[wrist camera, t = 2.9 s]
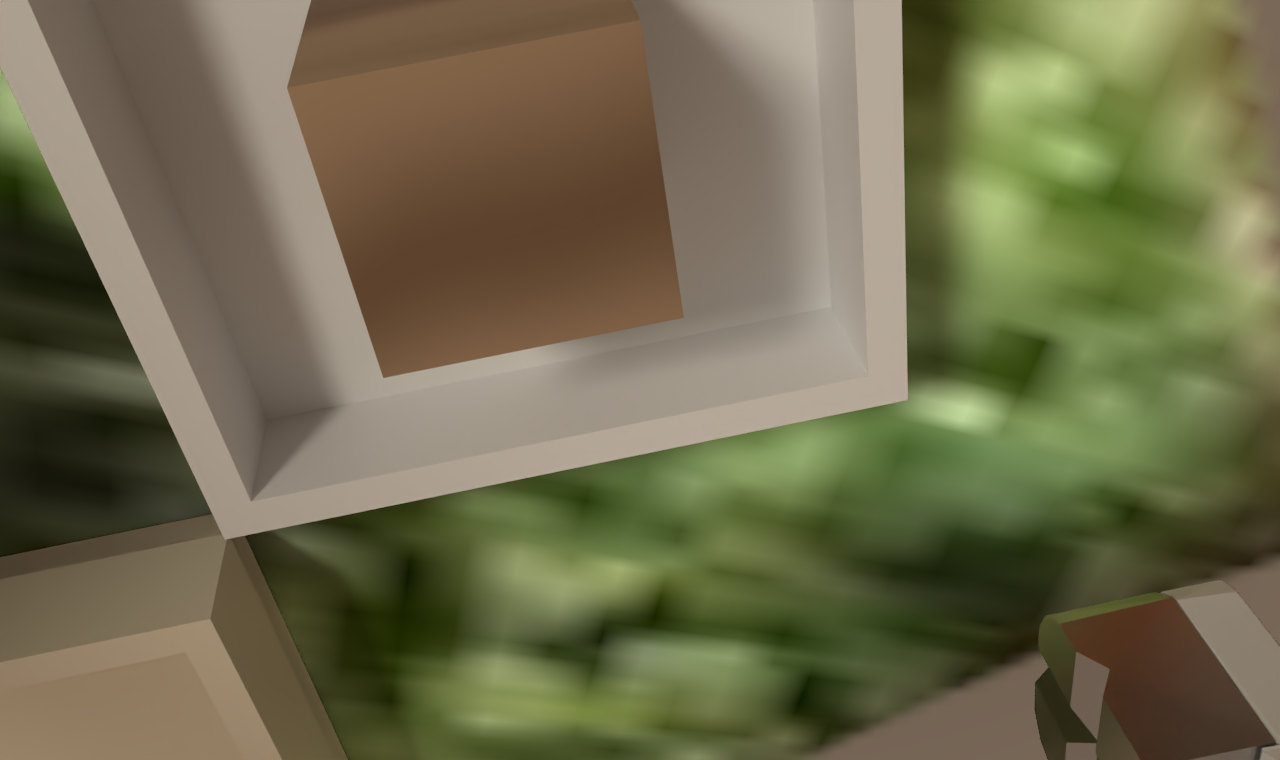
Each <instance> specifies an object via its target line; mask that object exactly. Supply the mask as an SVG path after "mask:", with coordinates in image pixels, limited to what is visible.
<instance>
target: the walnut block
mask: <svg viewBox="0 0 1280 760" xmlns="http://www.w3.org/2000/svg"><path fill="white" fill-rule="evenodd" d="M287 90H288V93H289V96H290V99H291V102H292V105H293V108H294V111H295V114H296V117H297V120H298V123H299V126H300V129H301V132H302V135H303V138H304V141H305V144H306V147H307V150H308V153H309V156H310V159H311V162H312V165H313V168H314V171H315V174H316V177H317V180H318V183H319V186H320V189H321V192H322V195H323V198H324V201H325V204H326V207H327V210H328V213H329V216H330V219H331V222H332V225H333V228H334V231H335V234H336V237H337V240H338V243H339V246H340V249H341V252H342V255H343V258H344V261H345V264H346V267H347V270H348V273H349V276H350V279H351V282H352V285H353V288H354V291H355V294H356V297H357V300H358V303H359V306H360V309H361V312H362V315H363V318H364V321H365V324H366V327H367V330H368V333H369V336H370V339H371V342H372V345H373V348H374V351H375V354H376V357H377V360H378V364H379V367H380V370H381V373H382V376H383V378H386V377H391V376H396V375H401V374H406V373H411V372H416V371H421V370H426V369H431V368H436V367H441V366H446V365H451V364H456V363H461V362H466V361H471V360H476V359H481V358H486V357H491V356H496V355H501V354H506V353H511V352H516V351H521V350H526V349H531V348H536V347H541V346H546V345H551V344H556V343H561V342H566V341H570V340H575V339H580V338H585V337H590V336H595V335H600V334H605V333H610V332H615V331H620V330H625V329H630V328H635V327H640V326H645V325H650V324H655V323H660V322H665V321H670V320H675V319H680V318H684V316H683V309H682V302H681V296H680V289H679V282H678V275H677V268H676V261H675V254H674V247H673V240H672V234H671V227H670V220H669V213H668V206H667V199H666V192H665V185H664V179H663V172H662V165H661V158H660V151H659V144H658V137H657V130H656V124H655V117H654V110H653V103H652V96H651V89H650V82H649V75H648V68H647V62H646V55H645V48H644V41H643V34H642V27H641V20H640V18H639V16H638V13H637V11H636V9H635V7H634V5H633V2H632V0H311V2H310V6H309V10H308V13H307V17H306V20H305V24H304V28H303V31H302V35H301V39H300V42H299V46H298V50H297V53H296V57H295V60H294V64H293V68H292V71H291V75H290V79H289V82H288V86H287Z"/></svg>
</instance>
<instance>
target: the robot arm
mask: <svg viewBox="0 0 1280 760" xmlns="http://www.w3.org/2000/svg"><path fill="white" fill-rule="evenodd" d="M1038 648H1039V650H1040V652H1041V654H1042V655H1043V657H1044V659H1045V661H1046V663H1047V665H1048V669H1047V670H1046V671H1045V672H1044V673H1043V674H1042V675H1041V677H1040V678H1039V679H1038V680H1037V681H1036V683H1035V714H1036V719H1037V724H1038V729H1039V734H1040V739H1041V743H1042V745H1043V748H1044V750H1045V753H1046V756H1047V759H1048V760H1280V645H1279V644H1278V643H1277V641H1276V640H1275V639H1274V638H1273V637H1272V635H1271V634H1270V633H1269V631H1268V630H1267V629H1266V628H1265V626H1264V625H1263V624H1262V622H1261V621H1260V620H1259V619H1258V617H1257V616H1256V615H1255V614H1254V612H1253V611H1252V610H1251V609H1250V607H1249V606H1248V605H1247V604H1246V602H1245V601H1244V600H1243V599H1242V597H1241V596H1240V595H1239V593H1238V592H1237V591H1236V590H1235V588H1234V587H1232V586H1230V585H1229V584H1227V583H1225V582H1224V581H1222V580H1217V581H1212V582H1207V583H1202V584H1197V585H1192V586H1187V587H1182V588H1178V589H1173V590H1168V591H1163V592H1161V593H1156V592H1153V593H1148V594H1143V595H1139V596H1134V597H1130V598H1125V599H1120V600H1116V601H1111V602H1106V603H1102V604H1097V605H1093V606H1088V607H1083V608H1079V609H1074V610H1070V611H1065V612H1060V613H1056V614H1051V615H1047V616H1045V618H1044V620H1043V621H1042V623H1041V625H1040V629H1039V640H1038Z"/></svg>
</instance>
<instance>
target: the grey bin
mask: <svg viewBox="0 0 1280 760" xmlns="http://www.w3.org/2000/svg"><path fill="white" fill-rule="evenodd" d="M310 2H311V0H0V68H1V70H2V72H3V74H4V76H5V78H6V80H7V82H8V84H9V86H10V89H11V91H12V93H13V95H14V97H15V99H16V101H17V103H18V105H19V108H20V110H21V112H22V114H23V116H24V118H25V120H26V122H27V124H28V127H29V129H30V131H31V133H32V135H33V137H34V139H35V141H36V143H37V145H38V148H39V150H40V152H41V154H42V156H43V158H44V160H45V162H46V164H47V167H48V169H49V171H50V173H51V175H52V177H53V179H54V181H55V183H56V186H57V188H58V190H59V192H60V194H61V196H62V198H63V200H64V202H65V204H66V207H67V209H68V211H69V213H70V215H71V217H72V219H73V221H74V223H75V226H76V228H77V230H78V232H79V234H80V236H81V238H82V240H83V242H84V244H85V247H86V249H87V251H88V253H89V255H90V257H91V259H92V261H93V263H94V266H95V268H96V270H97V272H98V274H99V276H100V278H101V280H102V282H103V285H104V287H105V289H106V291H107V293H108V295H109V297H110V299H111V301H112V303H113V306H114V308H115V310H116V312H117V314H118V316H119V318H120V320H121V322H122V325H123V327H124V329H125V331H126V333H127V335H128V337H129V339H130V341H131V344H132V346H133V348H134V350H135V352H136V354H137V356H138V358H139V360H140V362H141V365H142V367H143V369H144V371H145V373H146V375H147V377H148V379H149V381H150V384H151V386H152V388H153V390H154V392H155V394H156V396H157V398H158V400H159V403H160V405H161V407H162V409H163V411H164V413H165V415H166V417H167V419H168V421H169V424H170V426H171V428H172V430H173V432H174V434H175V436H176V438H177V440H178V443H179V445H180V447H181V449H182V451H183V453H184V455H185V457H186V459H187V462H188V464H189V466H190V468H191V470H192V472H193V474H194V476H195V478H196V480H197V483H198V485H199V487H200V489H201V491H202V493H203V495H204V497H205V499H206V502H207V504H208V506H209V508H210V510H211V512H212V514H213V516H214V518H215V521H216V523H217V525H218V527H219V529H220V531H221V533H222V535H223V537H224V539H225V540H226V539H231V538H235V537H240V536H245V535H250V534H255V533H260V532H265V531H270V530H275V529H279V528H284V527H289V526H294V525H299V524H304V523H309V522H314V521H319V520H324V519H328V518H333V517H338V516H343V515H348V514H353V513H358V512H363V511H368V510H372V509H377V508H382V507H387V506H392V505H397V504H402V503H407V502H412V501H416V500H421V499H426V498H431V497H436V496H441V495H446V494H451V493H456V492H460V491H465V490H470V489H475V488H480V487H485V486H490V485H495V484H500V483H505V482H509V481H514V480H519V479H524V478H529V477H534V476H539V475H544V474H549V473H553V472H558V471H563V470H568V469H573V468H578V467H583V466H588V465H593V464H597V463H602V462H607V461H612V460H617V459H622V458H627V457H632V456H637V455H641V454H646V453H651V452H656V451H661V450H666V449H671V448H676V447H681V446H685V445H690V444H695V443H700V442H705V441H710V440H715V439H720V438H725V437H730V436H734V435H739V434H744V433H749V432H754V431H759V430H764V429H769V428H774V427H778V426H783V425H788V424H793V423H798V422H803V421H808V420H813V419H818V418H822V417H827V416H832V415H837V414H842V413H847V412H852V411H857V410H862V409H866V408H871V407H876V406H881V405H886V404H891V403H896V402H901V401H906V400H908V381H907V316H906V251H905V186H904V121H903V55H902V0H632V2H633V5H634V7H635V9H636V11H637V13H638V16H639V18H640V20H641V27H642V34H643V41H644V48H645V55H646V62H647V68H648V75H649V82H650V89H651V96H652V103H653V110H654V117H655V124H656V130H657V137H658V144H659V151H660V158H661V165H662V172H663V179H664V185H665V192H666V199H667V206H668V213H669V220H670V227H671V234H672V240H673V247H674V254H675V261H676V268H677V275H678V282H679V289H680V296H681V302H682V309H683V316H684V318H680V319H675V320H670V321H665V322H660V323H655V324H650V325H645V326H640V327H635V328H630V329H625V330H620V331H615V332H610V333H605V334H600V335H595V336H590V337H585V338H580V339H575V340H570V341H566V342H561V343H556V344H551V345H546V346H541V347H536V348H531V349H526V350H521V351H516V352H511V353H506V354H501V355H496V356H491V357H486V358H481V359H476V360H471V361H466V362H461V363H456V364H451V365H446V366H441V367H436V368H431V369H426V370H421V371H416V372H411V373H406V374H401V375H396V376H391V377H386V378H383V376H382V373H381V370H380V367H379V364H378V360H377V357H376V354H375V351H374V348H373V345H372V342H371V339H370V336H369V333H368V330H367V327H366V324H365V321H364V318H363V315H362V312H361V309H360V306H359V303H358V300H357V297H356V294H355V291H354V288H353V285H352V282H351V279H350V276H349V273H348V270H347V267H346V264H345V261H344V258H343V255H342V252H341V249H340V246H339V243H338V240H337V237H336V234H335V231H334V228H333V225H332V222H331V219H330V216H329V213H328V210H327V207H326V204H325V201H324V198H323V195H322V192H321V189H320V186H319V183H318V180H317V177H316V174H315V171H314V168H313V165H312V162H311V159H310V156H309V153H308V150H307V147H306V144H305V141H304V138H303V135H302V132H301V129H300V126H299V123H298V120H297V117H296V114H295V111H294V108H293V105H292V102H291V99H290V96H289V93H288V90H287V86H288V82H289V79H290V75H291V71H292V68H293V64H294V60H295V57H296V53H297V50H298V46H299V42H300V39H301V35H302V31H303V28H304V24H305V20H306V17H307V13H308V10H309V6H310Z"/></svg>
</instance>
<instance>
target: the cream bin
mask: <svg viewBox="0 0 1280 760" xmlns="http://www.w3.org/2000/svg"><path fill="white" fill-rule="evenodd" d="M0 760H348V759H347V757H346V754H345V752H344V750H343V748H342V746H341V744H340V741H339V739H338V737H337V735H336V733H335V730H334V728H333V726H332V724H331V722H330V720H329V717H328V715H327V713H326V711H325V709H324V707H323V704H322V702H321V700H320V698H319V696H318V694H317V691H316V689H315V687H314V685H313V683H312V680H311V678H310V676H309V674H308V672H307V670H306V667H305V665H304V663H303V661H302V659H301V657H300V654H299V652H298V650H297V648H296V646H295V643H294V641H293V639H292V637H291V635H290V633H289V630H288V628H287V626H286V624H285V622H284V620H283V617H282V615H281V613H280V611H279V609H278V607H277V604H276V602H275V600H274V598H273V596H272V593H271V591H270V589H269V587H268V585H267V583H266V580H265V578H264V576H263V574H262V572H261V570H260V567H259V565H258V563H257V561H256V559H255V556H254V554H253V552H252V550H251V548H250V546H249V543H248V541H247V539H246V537H245V536H240V537H235V538H231V539H226V540H225V539H224V537H223V535H222V533H221V531H220V529H219V527H218V525H217V523H216V521H215V518H214V516H213V514H210V515H205V516H200V517H195V518H190V519H185V520H180V521H175V522H171V523H166V524H161V525H156V526H151V527H146V528H141V529H136V530H131V531H126V532H121V533H117V534H112V535H107V536H102V537H97V538H92V539H87V540H82V541H77V542H72V543H67V544H63V545H58V546H53V547H48V548H43V549H38V550H33V551H28V552H23V553H18V554H13V555H9V556H4V557H0Z"/></svg>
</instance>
